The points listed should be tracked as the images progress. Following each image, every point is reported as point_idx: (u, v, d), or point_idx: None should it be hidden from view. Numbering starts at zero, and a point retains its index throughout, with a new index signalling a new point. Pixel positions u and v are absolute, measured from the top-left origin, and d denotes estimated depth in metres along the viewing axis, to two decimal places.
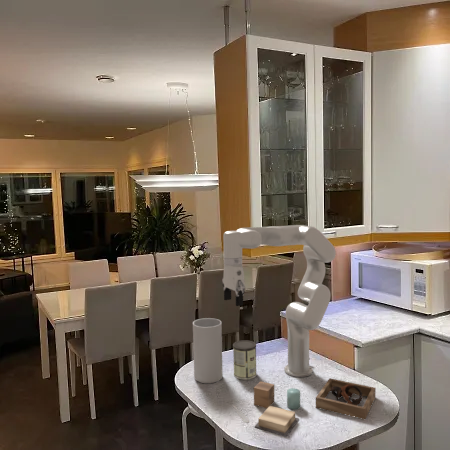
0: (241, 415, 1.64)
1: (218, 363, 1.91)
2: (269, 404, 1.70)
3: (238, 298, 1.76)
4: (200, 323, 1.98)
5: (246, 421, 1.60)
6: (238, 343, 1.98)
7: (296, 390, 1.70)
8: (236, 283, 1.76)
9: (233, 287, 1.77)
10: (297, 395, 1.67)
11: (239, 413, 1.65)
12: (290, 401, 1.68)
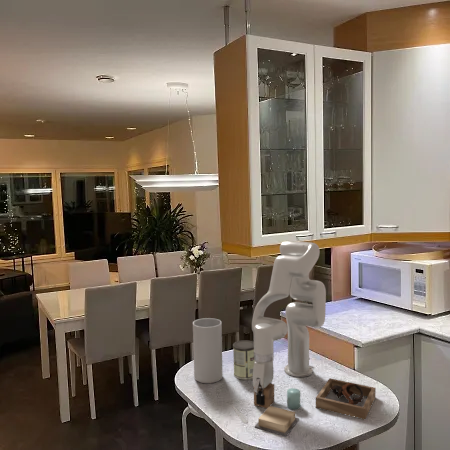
0: (240, 415, 1.64)
1: (218, 363, 1.91)
2: (269, 404, 1.70)
3: None
4: (200, 323, 1.98)
5: (245, 421, 1.60)
6: (238, 343, 1.98)
7: (296, 390, 1.70)
8: None
9: (272, 377, 1.74)
10: (297, 395, 1.67)
11: (238, 413, 1.65)
12: (290, 401, 1.68)
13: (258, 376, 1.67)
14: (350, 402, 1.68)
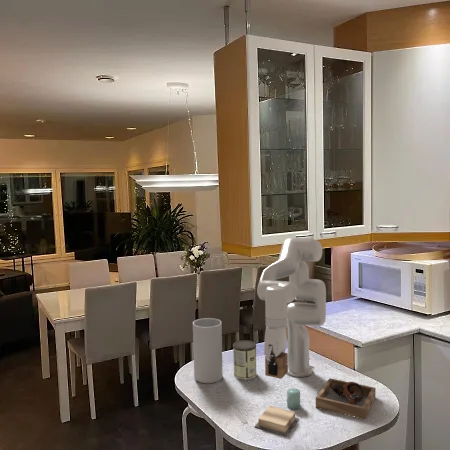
0: (239, 415, 1.64)
1: (218, 363, 1.91)
2: (282, 374, 1.54)
3: None
4: (200, 323, 1.98)
5: (244, 421, 1.60)
6: (238, 343, 1.98)
7: (296, 390, 1.70)
8: None
9: (286, 345, 1.58)
10: (297, 395, 1.67)
11: (237, 413, 1.65)
12: (289, 401, 1.68)
13: (270, 343, 1.51)
14: (351, 401, 1.69)
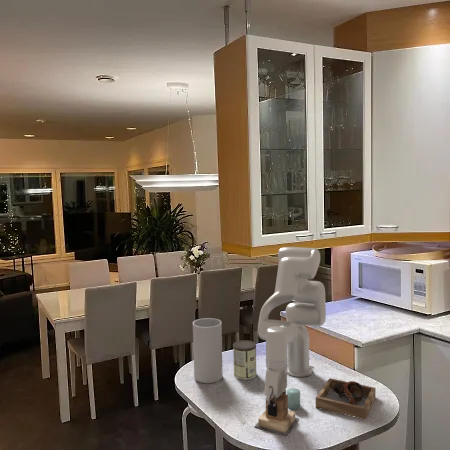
0: (238, 416, 1.63)
1: (218, 363, 1.91)
2: (283, 416, 1.55)
3: None
4: (200, 323, 1.98)
5: (243, 422, 1.59)
6: (238, 343, 1.98)
7: (296, 390, 1.70)
8: None
9: (286, 385, 1.60)
10: (297, 395, 1.67)
11: (236, 414, 1.65)
12: (289, 400, 1.68)
13: (270, 385, 1.53)
14: (351, 400, 1.69)
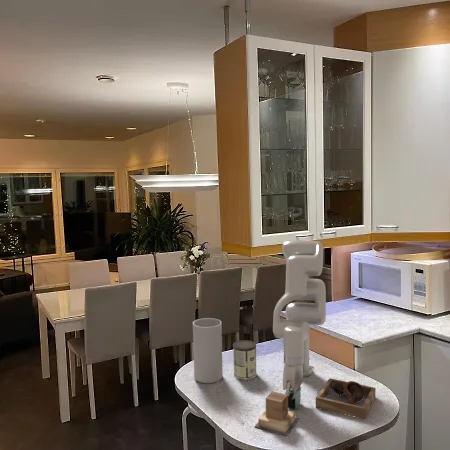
0: (236, 416, 1.63)
1: (218, 363, 1.91)
2: (283, 416, 1.55)
3: None
4: (200, 323, 1.98)
5: (241, 422, 1.59)
6: (238, 343, 1.98)
7: (296, 390, 1.70)
8: None
9: (302, 380, 1.72)
10: (296, 395, 1.67)
11: (234, 414, 1.65)
12: None
13: (288, 379, 1.65)
14: (351, 400, 1.69)
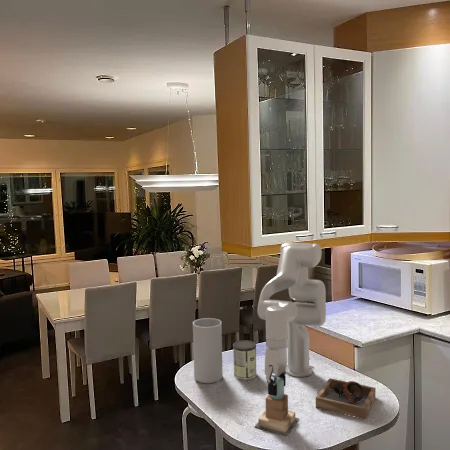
0: (234, 417, 1.63)
1: (218, 363, 1.91)
2: (282, 416, 1.55)
3: None
4: (200, 323, 1.98)
5: (239, 423, 1.59)
6: (238, 343, 1.98)
7: (279, 379, 1.57)
8: None
9: (286, 365, 1.59)
10: (280, 384, 1.55)
11: (232, 415, 1.64)
12: None
13: (270, 364, 1.52)
14: (351, 400, 1.69)
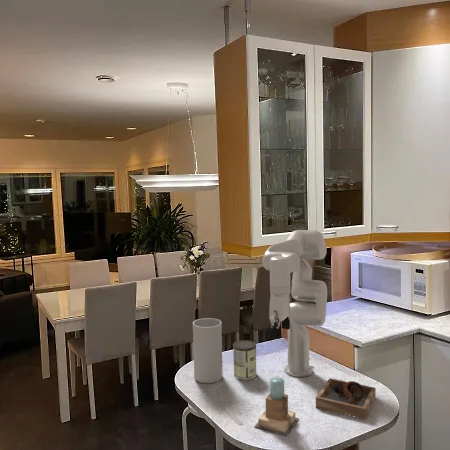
0: (234, 417, 1.63)
1: (218, 363, 1.91)
2: (282, 416, 1.55)
3: None
4: (200, 323, 1.98)
5: (239, 423, 1.59)
6: (238, 343, 1.98)
7: (280, 379, 1.57)
8: None
9: (289, 312, 1.69)
10: (280, 384, 1.55)
11: (232, 415, 1.64)
12: (272, 390, 1.56)
13: (274, 309, 1.62)
14: (351, 400, 1.69)
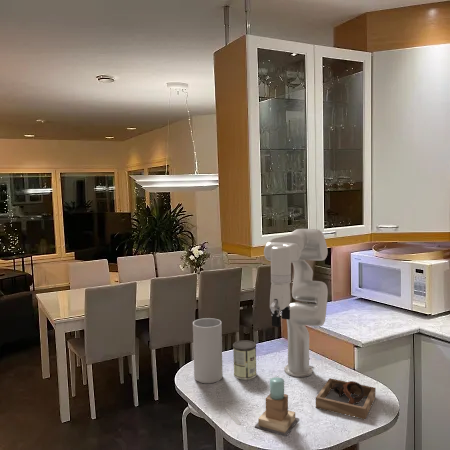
0: (233, 417, 1.63)
1: (218, 363, 1.91)
2: (282, 416, 1.55)
3: None
4: (200, 323, 1.98)
5: (238, 423, 1.59)
6: (238, 343, 1.98)
7: (280, 379, 1.57)
8: None
9: (289, 301, 1.71)
10: (280, 384, 1.55)
11: (231, 415, 1.64)
12: (272, 390, 1.56)
13: (275, 297, 1.64)
14: (351, 400, 1.69)
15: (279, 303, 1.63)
